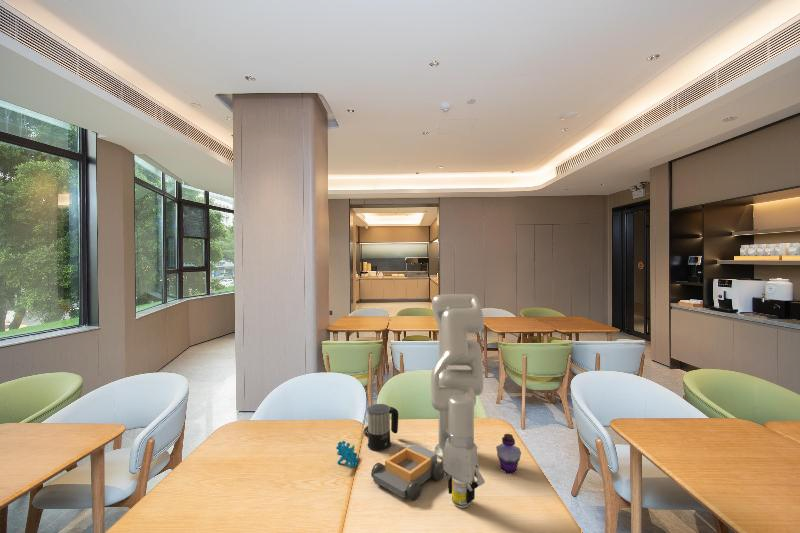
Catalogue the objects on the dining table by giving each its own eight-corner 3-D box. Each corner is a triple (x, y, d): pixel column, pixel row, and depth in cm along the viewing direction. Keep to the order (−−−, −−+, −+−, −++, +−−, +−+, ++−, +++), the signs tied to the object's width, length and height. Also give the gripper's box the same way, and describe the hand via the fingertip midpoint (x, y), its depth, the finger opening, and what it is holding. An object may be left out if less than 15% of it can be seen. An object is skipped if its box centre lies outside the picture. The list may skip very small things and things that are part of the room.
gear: (352, 470, 125) (334, 445, 127) (340, 480, 126) (323, 456, 128) (364, 457, 135) (348, 434, 138) (353, 467, 136) (337, 444, 139)
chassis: (408, 457, 135) (407, 439, 135) (446, 475, 124) (446, 456, 124) (369, 482, 120) (368, 463, 120) (408, 505, 109) (408, 484, 109)
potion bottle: (499, 459, 133) (499, 427, 133) (523, 466, 129) (523, 433, 129) (492, 472, 126) (492, 437, 125) (518, 479, 121) (518, 444, 121)
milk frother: (381, 454, 138) (381, 415, 137) (349, 442, 146) (349, 406, 146) (401, 438, 150) (401, 402, 149) (371, 428, 158) (370, 394, 157)
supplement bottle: (457, 493, 114) (457, 461, 114) (473, 501, 111) (473, 468, 110) (448, 503, 110) (448, 470, 109) (464, 511, 106) (464, 477, 106)
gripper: (430, 433, 112) (430, 490, 113) (480, 453, 101) (480, 516, 102) (444, 424, 118) (444, 478, 119) (493, 442, 106) (493, 502, 107)
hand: (461, 495), depth 110 cm, fingers closed on supplement bottle, 5 cm apart
